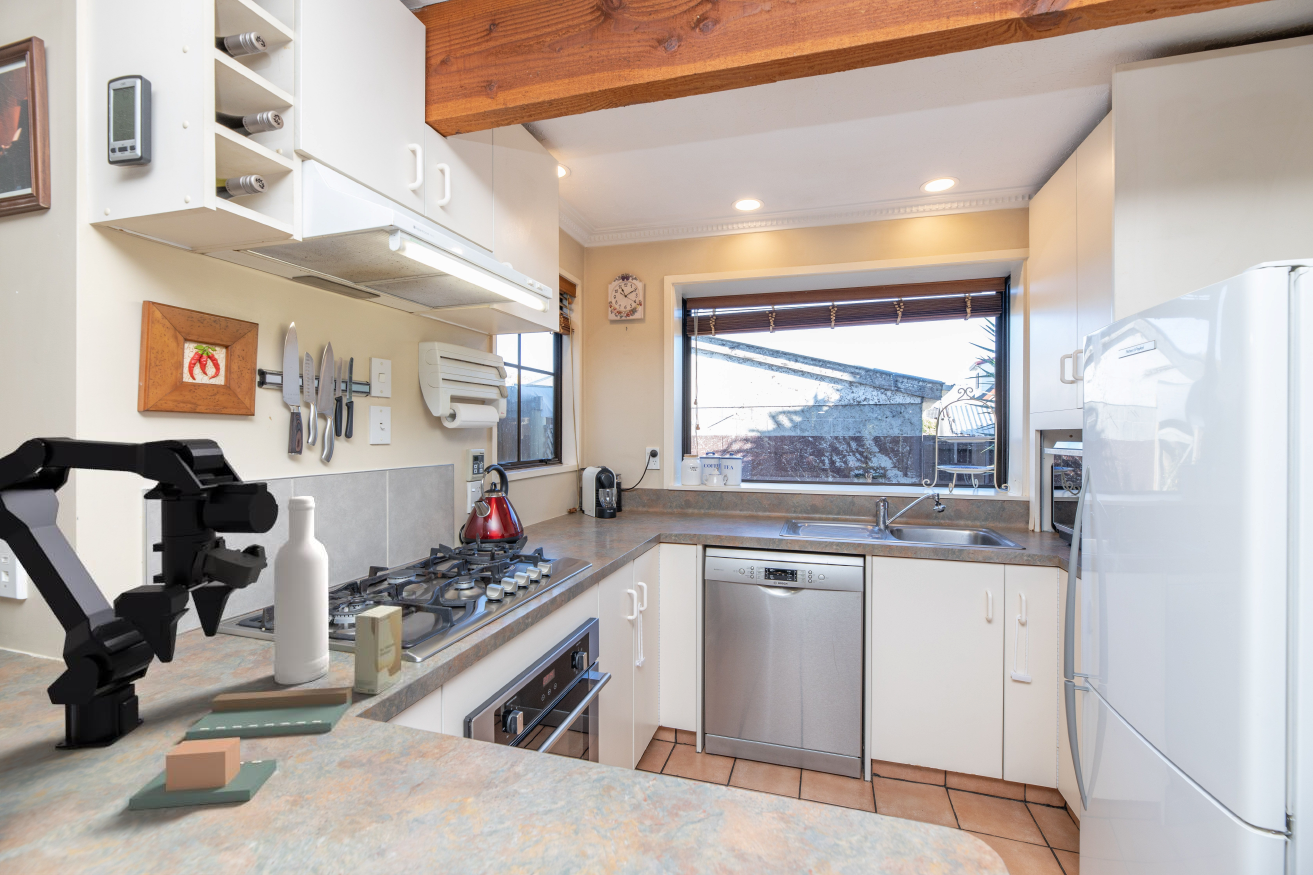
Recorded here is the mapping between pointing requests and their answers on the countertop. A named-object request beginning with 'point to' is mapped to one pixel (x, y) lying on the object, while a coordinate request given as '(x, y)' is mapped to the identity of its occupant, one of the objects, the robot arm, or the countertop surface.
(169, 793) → the stub
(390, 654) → the skincare box
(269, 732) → the dashed green plate
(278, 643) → the bottle
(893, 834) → the countertop surface
